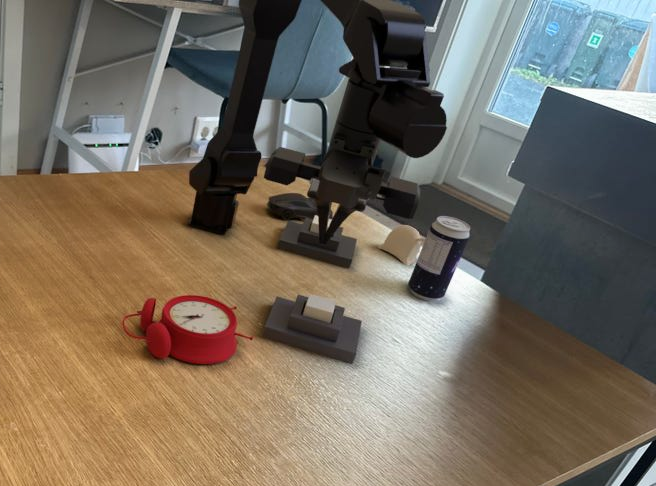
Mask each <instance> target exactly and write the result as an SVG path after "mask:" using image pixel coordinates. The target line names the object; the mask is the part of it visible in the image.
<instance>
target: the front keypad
mask: <svg viewBox="0 0 656 486" xmlns="http://www.w3.org/2000/svg"><path fill="white" fill-rule="evenodd" d="M308 297H309V296H305V295H301V294H297V295H296V299H295V301H294V300H292V299H287V298H284V297H281V296H276V297H275V300H274V302H273V304H272V307H271V309H270V312H269V314H268V317H267V319H266V322H265V325H264V327H263V331H262V334H261V338H263V339H267V340H271V341H274V342H277V343H280V344H284V345H287V346H289V347H293V348H298V349H300V350H304V351H308V352H311V353H314V354H318V355H320V356H324V357H328V358H331V359H334V360H337V361H341V362H344V363H348V364H351V365H353V364H354V361H355V359H356V357H357V353H358V346H359V342H360V341H359V340H360V334H361V328H362V323H363V322H362V320H361V319H357V318H354V317H350V316H347V315H345V310H346V307H343V306H340V305H337V304H335V308H334V312H333V315H332V318H331V321H330V323H327V322H324V321H320V320H317V319H314V318H310V317H307V316H303V313H304V309H305V306H306V303H307V300H308Z"/></svg>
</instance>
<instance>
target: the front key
mask: <svg viewBox="0 0 656 486" xmlns="http://www.w3.org/2000/svg"><path fill="white" fill-rule="evenodd" d="M307 297H308V300H307V303H306V306H305V309H304V313H303V316H307V317H310V318H314V319H317V320H320V321H324V322H327V323H330V321H331V318H332V315H333V312H334V308H335V305H337V304H336V303H337V300H335V299H331V298H327V297H325V296H320V295H317V294H314V293H309V294H308V296H307Z"/></svg>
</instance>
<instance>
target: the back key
mask: <svg viewBox="0 0 656 486" xmlns="http://www.w3.org/2000/svg"><path fill="white" fill-rule="evenodd" d="M331 220H332V219H329V221H328V227H329V225H330V223H331ZM328 227H327V229H328ZM310 231H311V232H315V233H319V222H318V216H317V215H315V217H314V219H313V222H312V225H311V229H310ZM326 232H327V231H326Z"/></svg>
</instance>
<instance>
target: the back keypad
mask: <svg viewBox="0 0 656 486" xmlns="http://www.w3.org/2000/svg"><path fill="white" fill-rule="evenodd" d="M312 222H313V219H309V218H305V220H304V221H303V223H300V222H295V221H292V220H287V223H286V224H285V227H284V229H283V231H282V233H281V235H280V237H279V239H278V244H277V247H276V249H277V250H280V251H283V252H287V253H290V254H294V255H298V256H302V257H306V258H308V259H312V260H316V261H320V262H323V263H326V264H329V265H334V266H337V267H341V268H345V269H348V270H350V268H351V265H352V262H353V260H354V255H355V251H356V247H357V241H358V238H355V237H351V236H347V235H343V231H344V227H343V226H339V228H338V229H337V230H336V232H335V233H334V234H333V236H332V237H331V238H330V240H329V241H328V242H327V244H326V245H321V244H319V233H315V232H311V231H310V229H311V225H312Z"/></svg>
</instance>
